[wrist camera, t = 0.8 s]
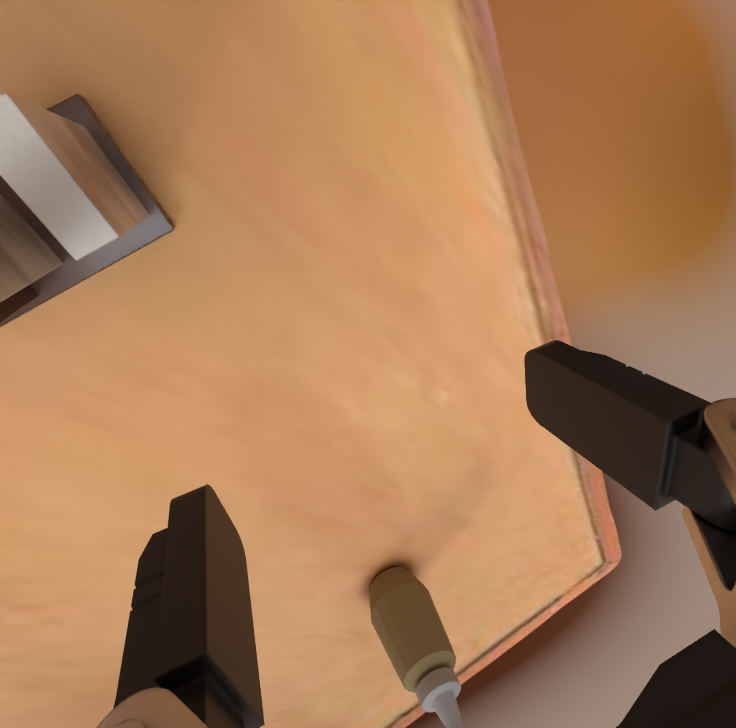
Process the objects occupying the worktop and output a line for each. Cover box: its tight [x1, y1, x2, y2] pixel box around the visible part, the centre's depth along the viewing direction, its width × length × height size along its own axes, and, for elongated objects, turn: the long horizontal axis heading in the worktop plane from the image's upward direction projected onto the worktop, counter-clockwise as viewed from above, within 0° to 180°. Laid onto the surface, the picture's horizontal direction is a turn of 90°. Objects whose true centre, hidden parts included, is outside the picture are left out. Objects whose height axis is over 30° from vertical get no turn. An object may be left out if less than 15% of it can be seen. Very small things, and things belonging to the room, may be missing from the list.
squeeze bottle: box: [369, 567, 464, 728], centre depth 48 cm, size 8×8×18 cm
